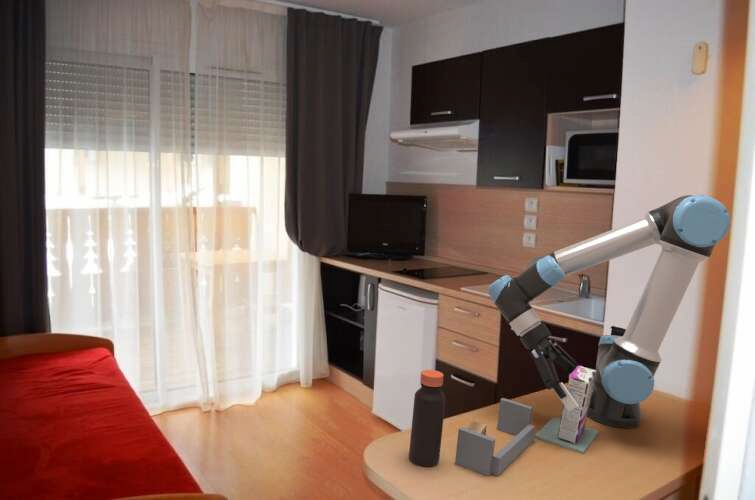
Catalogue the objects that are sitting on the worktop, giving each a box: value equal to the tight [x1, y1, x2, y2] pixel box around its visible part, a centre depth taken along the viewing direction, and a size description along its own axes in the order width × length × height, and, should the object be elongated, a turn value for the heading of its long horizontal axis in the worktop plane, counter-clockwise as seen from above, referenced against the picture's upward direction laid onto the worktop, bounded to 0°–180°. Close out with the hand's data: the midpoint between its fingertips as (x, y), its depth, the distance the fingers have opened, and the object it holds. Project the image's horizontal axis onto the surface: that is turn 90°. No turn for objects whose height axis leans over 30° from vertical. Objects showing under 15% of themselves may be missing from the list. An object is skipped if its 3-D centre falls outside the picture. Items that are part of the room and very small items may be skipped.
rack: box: [454, 397, 536, 477], centre depth 132 cm, size 10×25×8 cm, turn 145°
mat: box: [534, 416, 600, 455], centre depth 144 cm, size 12×15×1 cm
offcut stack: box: [465, 420, 488, 436], centre depth 133 cm, size 4×8×5 cm, turn 154°
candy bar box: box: [557, 365, 596, 444], centre depth 142 cm, size 11×5×16 cm, turn 150°
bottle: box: [408, 369, 447, 467], centre depth 124 cm, size 7×7×20 cm
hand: (581, 400), depth 141 cm, fingers open, 13 cm apart
